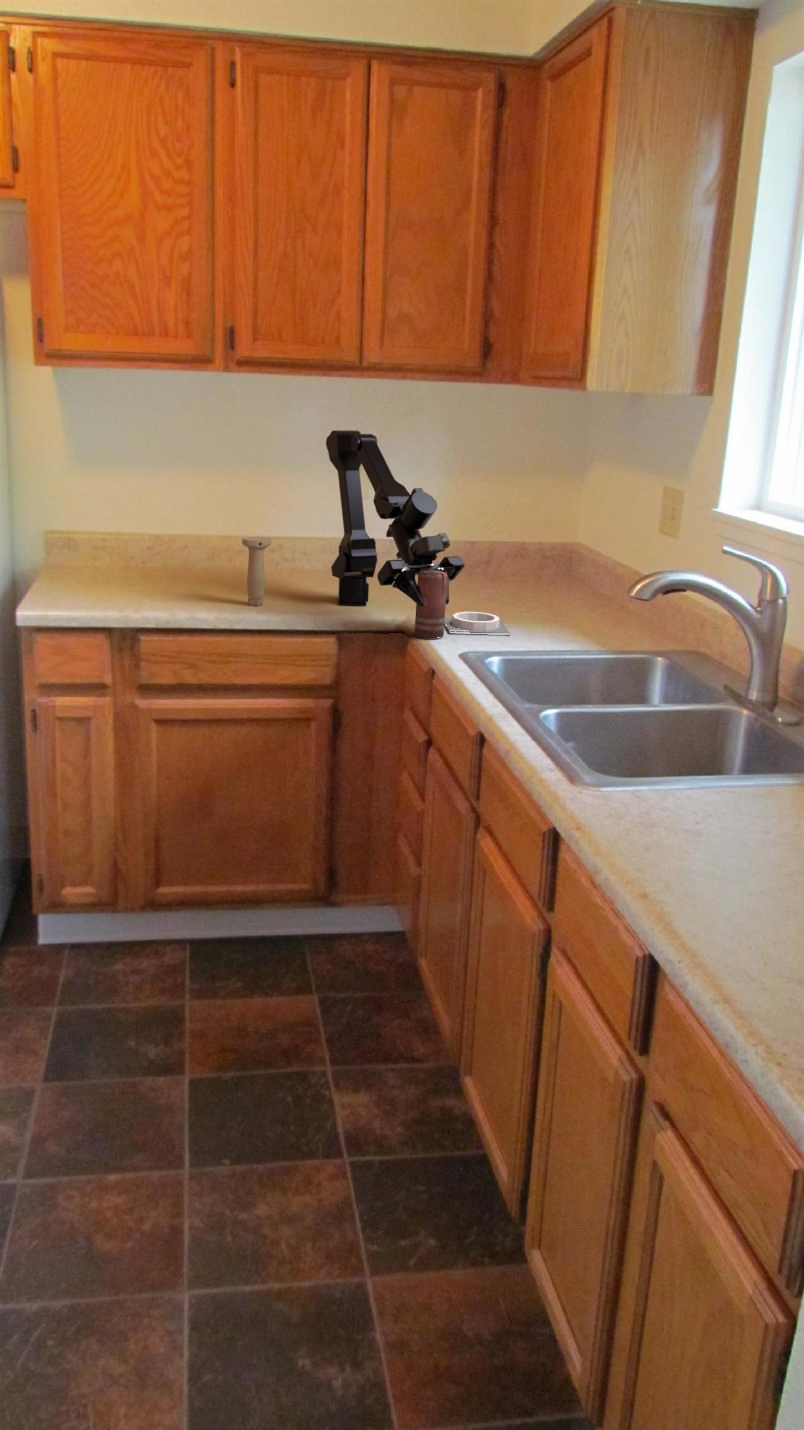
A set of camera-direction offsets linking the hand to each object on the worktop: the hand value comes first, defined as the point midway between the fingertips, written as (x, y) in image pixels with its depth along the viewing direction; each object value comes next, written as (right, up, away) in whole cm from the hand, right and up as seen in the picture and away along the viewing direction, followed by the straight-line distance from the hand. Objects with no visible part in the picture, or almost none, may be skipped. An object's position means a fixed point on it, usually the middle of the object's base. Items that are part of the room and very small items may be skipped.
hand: (435, 604), depth 250 cm
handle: (-40, +2, +24) cm, 46 cm away
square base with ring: (+9, -4, +13) cm, 16 cm away
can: (-1, -7, +3) cm, 7 cm away
